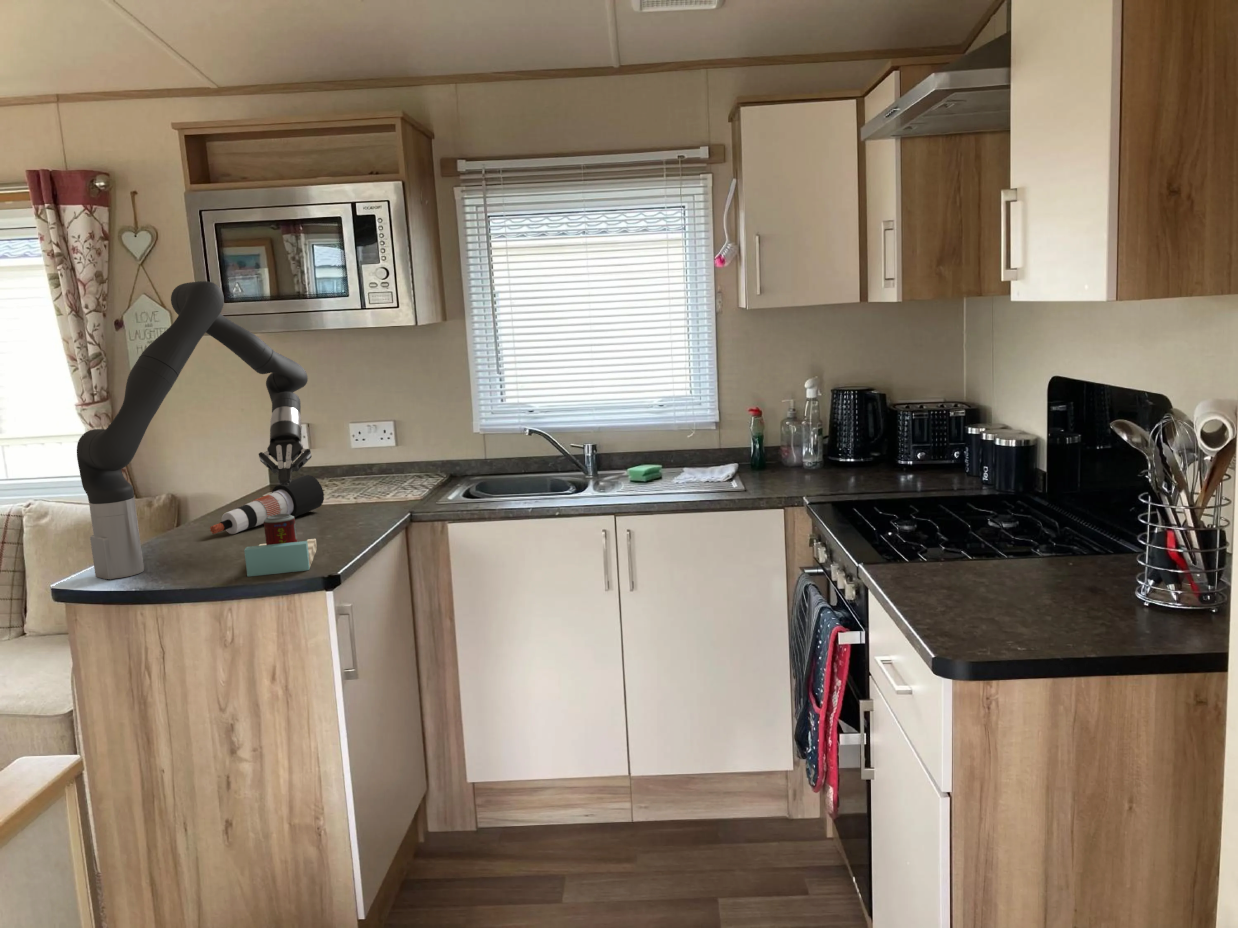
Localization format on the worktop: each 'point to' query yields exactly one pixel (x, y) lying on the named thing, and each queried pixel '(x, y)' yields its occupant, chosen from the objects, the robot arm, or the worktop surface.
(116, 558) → the robot arm
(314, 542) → the guide rails
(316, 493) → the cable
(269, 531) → the soda can
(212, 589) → the worktop surface
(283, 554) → the block
